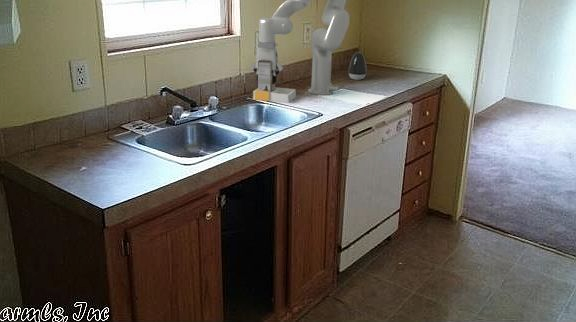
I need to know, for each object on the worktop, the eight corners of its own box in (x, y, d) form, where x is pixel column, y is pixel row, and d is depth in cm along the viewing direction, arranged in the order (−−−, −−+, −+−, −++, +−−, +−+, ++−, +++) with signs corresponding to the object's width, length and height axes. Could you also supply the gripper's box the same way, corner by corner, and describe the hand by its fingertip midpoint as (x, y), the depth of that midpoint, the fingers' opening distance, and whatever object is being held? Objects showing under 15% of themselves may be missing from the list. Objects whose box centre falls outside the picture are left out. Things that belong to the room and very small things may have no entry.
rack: (295, 96, 264) (296, 88, 262) (288, 103, 252) (288, 93, 251) (261, 93, 268) (261, 84, 267) (252, 99, 257) (252, 90, 255)
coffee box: (262, 90, 266) (262, 57, 260) (275, 91, 264) (275, 58, 259) (257, 94, 257) (257, 60, 251) (270, 95, 256) (271, 61, 250)
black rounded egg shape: (369, 78, 307) (371, 51, 302) (361, 81, 299) (363, 54, 294) (352, 76, 312) (354, 49, 307) (344, 79, 304) (346, 52, 299)
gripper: (286, 45, 254) (286, 82, 260) (252, 43, 258) (252, 79, 265) (282, 47, 247) (281, 86, 254) (246, 45, 252) (246, 83, 258)
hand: (266, 82), depth 259 cm, fingers closed on coffee box, 6 cm apart
